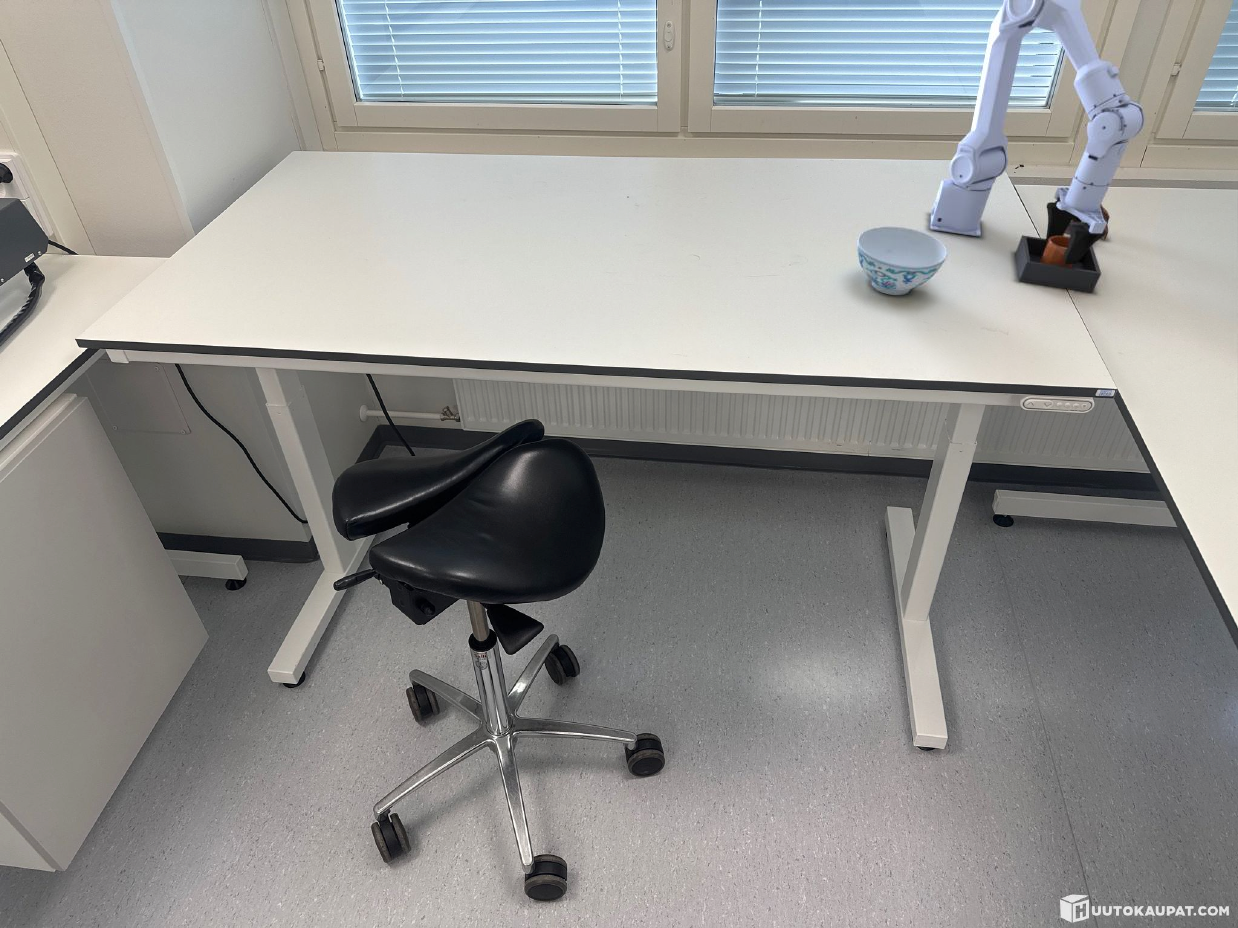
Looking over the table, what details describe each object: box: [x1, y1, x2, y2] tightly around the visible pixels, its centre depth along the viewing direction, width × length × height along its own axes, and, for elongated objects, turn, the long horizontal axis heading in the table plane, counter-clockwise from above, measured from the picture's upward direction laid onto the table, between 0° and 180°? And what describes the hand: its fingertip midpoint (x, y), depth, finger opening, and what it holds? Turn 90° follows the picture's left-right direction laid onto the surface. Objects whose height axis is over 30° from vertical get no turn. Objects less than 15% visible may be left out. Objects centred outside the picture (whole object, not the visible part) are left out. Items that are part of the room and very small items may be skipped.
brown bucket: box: [1039, 235, 1074, 268], centre depth 146 cm, size 6×6×6 cm
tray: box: [1014, 235, 1102, 294], centre depth 147 cm, size 12×11×4 cm
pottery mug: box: [1064, 203, 1111, 241], centre depth 159 cm, size 12×10×8 cm
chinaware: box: [856, 226, 948, 296], centre depth 140 cm, size 15×15×8 cm
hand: (1060, 253), depth 146 cm, fingers open, 7 cm apart
